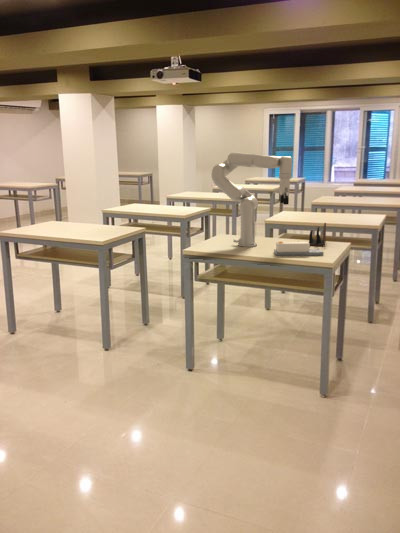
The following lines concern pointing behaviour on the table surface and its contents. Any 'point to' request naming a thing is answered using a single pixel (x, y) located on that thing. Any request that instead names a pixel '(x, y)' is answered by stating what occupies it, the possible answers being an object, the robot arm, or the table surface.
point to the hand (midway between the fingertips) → (284, 203)
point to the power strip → (292, 246)
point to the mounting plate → (300, 253)
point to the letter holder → (318, 238)
